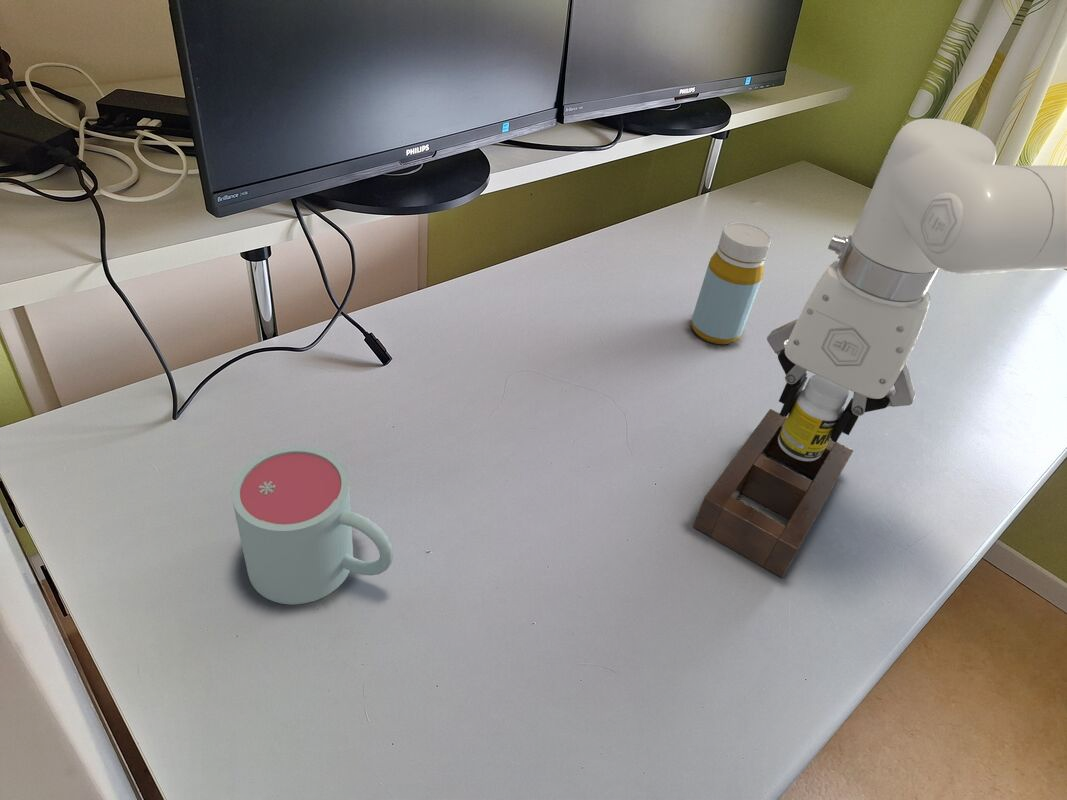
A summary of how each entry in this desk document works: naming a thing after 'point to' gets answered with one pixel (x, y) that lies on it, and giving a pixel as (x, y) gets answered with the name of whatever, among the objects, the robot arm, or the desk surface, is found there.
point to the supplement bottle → (812, 419)
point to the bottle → (731, 283)
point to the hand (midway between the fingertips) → (812, 420)
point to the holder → (769, 497)
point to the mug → (300, 525)
